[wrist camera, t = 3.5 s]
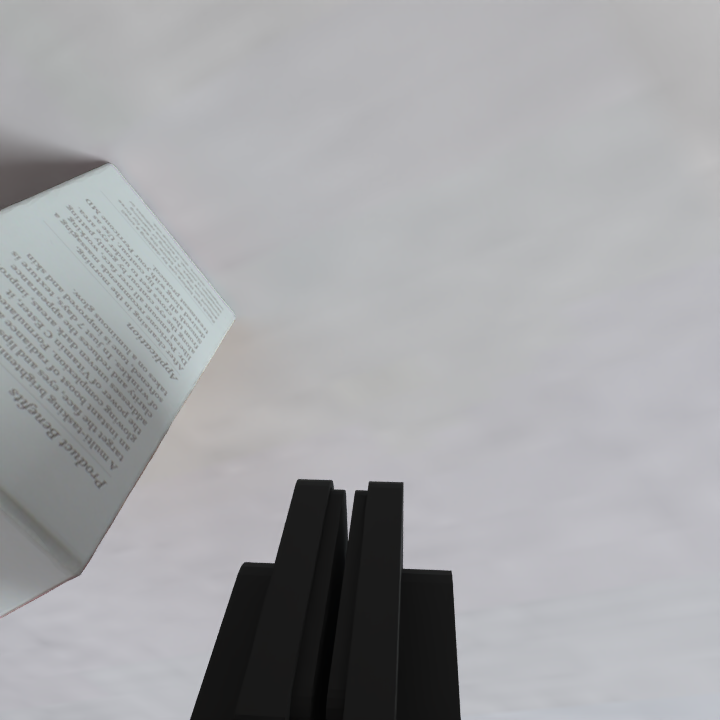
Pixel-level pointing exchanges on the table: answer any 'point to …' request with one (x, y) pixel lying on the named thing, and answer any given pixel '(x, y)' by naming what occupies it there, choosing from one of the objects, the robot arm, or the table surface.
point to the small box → (88, 367)
